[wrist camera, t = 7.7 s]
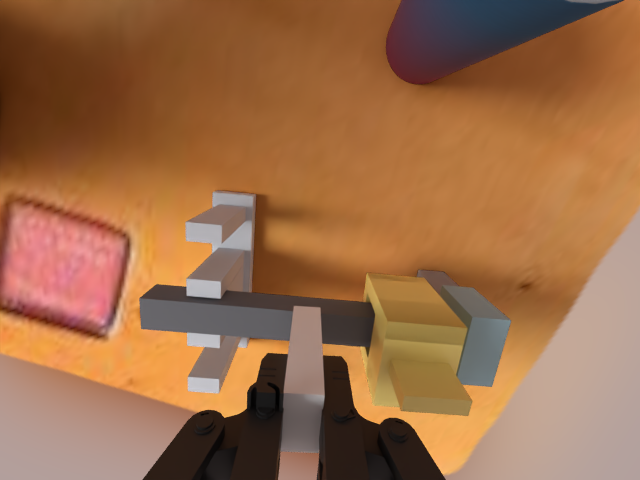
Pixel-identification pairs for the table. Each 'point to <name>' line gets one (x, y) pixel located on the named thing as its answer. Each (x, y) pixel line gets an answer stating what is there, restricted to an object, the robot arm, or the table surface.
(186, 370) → the table surface
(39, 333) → the table surface
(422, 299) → the sleeve
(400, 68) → the cup
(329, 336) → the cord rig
